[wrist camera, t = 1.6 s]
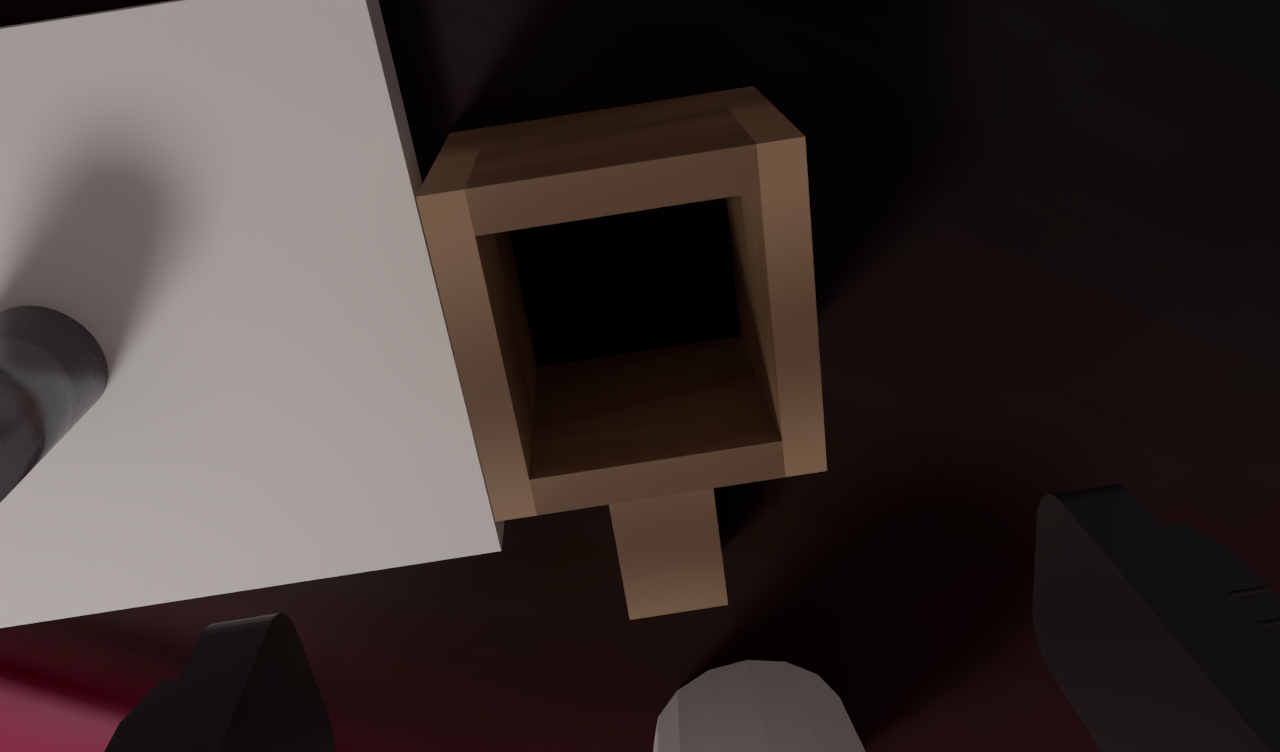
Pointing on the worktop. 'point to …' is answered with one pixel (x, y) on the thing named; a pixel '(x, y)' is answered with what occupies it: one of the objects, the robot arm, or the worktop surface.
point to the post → (42, 385)
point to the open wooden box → (646, 380)
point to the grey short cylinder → (756, 712)
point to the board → (228, 308)
